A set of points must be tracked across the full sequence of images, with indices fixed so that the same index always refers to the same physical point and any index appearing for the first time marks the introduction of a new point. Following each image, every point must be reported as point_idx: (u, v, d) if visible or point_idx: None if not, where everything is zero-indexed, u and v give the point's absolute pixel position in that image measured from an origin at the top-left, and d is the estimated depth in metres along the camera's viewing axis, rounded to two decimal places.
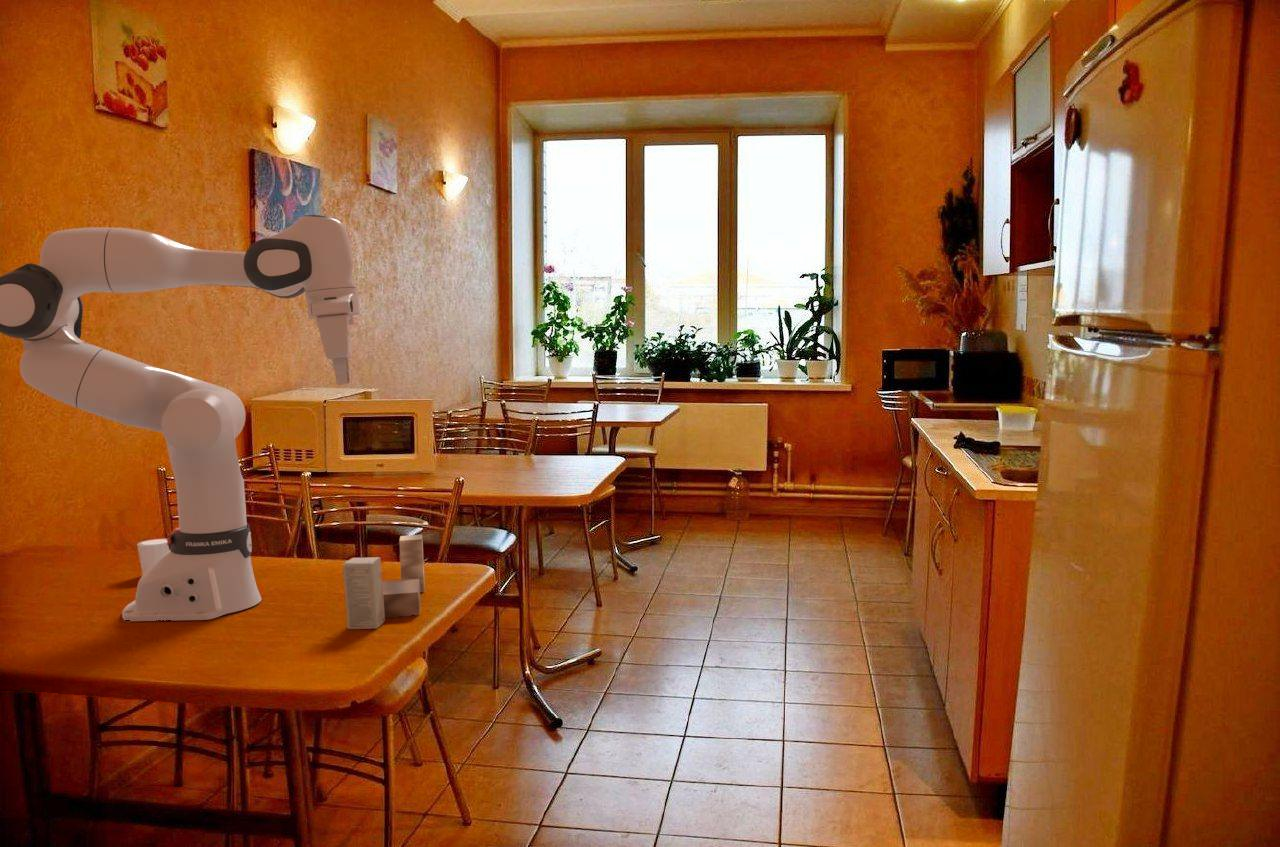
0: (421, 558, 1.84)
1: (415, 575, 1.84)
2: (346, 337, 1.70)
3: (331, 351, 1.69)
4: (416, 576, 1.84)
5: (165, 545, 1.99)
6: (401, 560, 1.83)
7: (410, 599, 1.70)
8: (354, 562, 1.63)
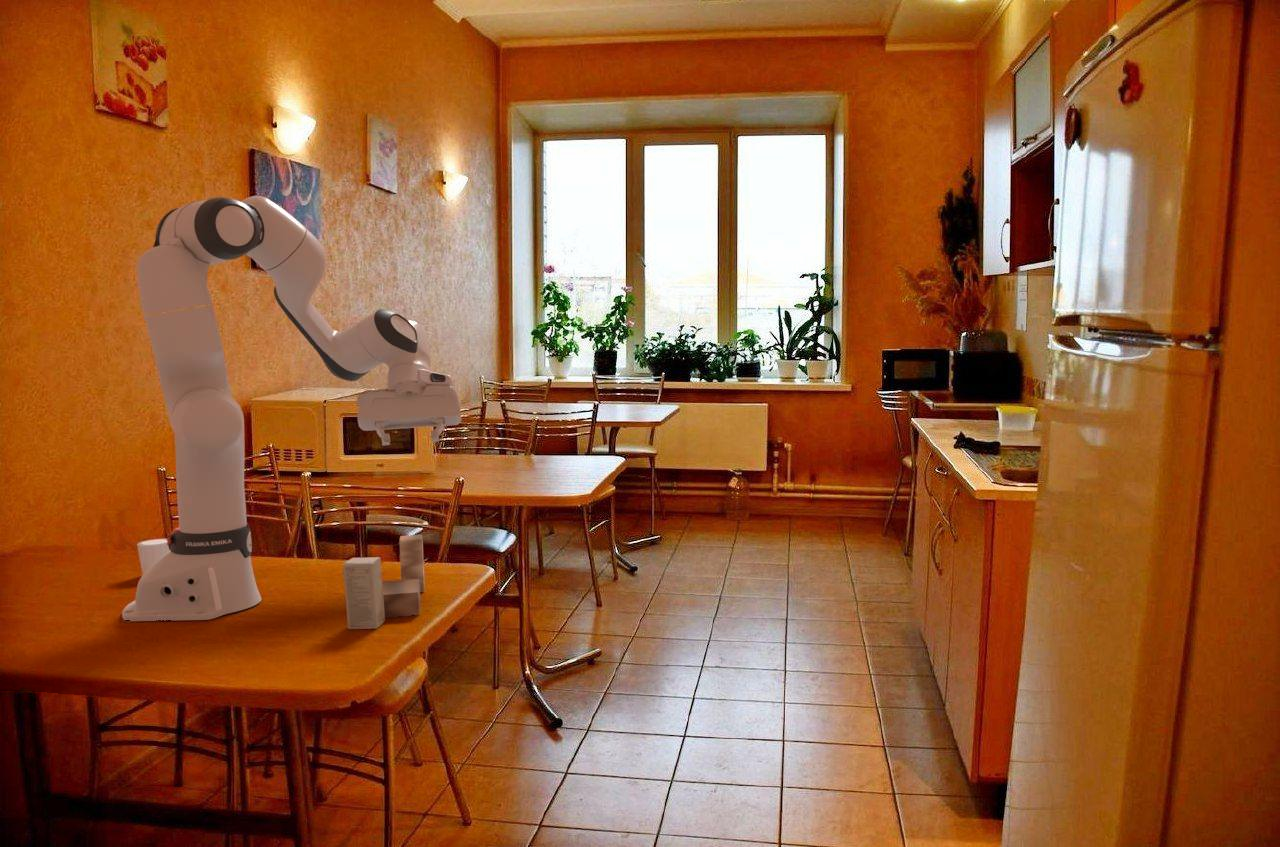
0: (421, 558, 1.84)
1: (415, 575, 1.84)
2: None
3: (460, 413, 2.01)
4: (417, 577, 1.84)
5: (165, 545, 1.99)
6: (401, 560, 1.83)
7: (410, 599, 1.70)
8: (354, 562, 1.63)
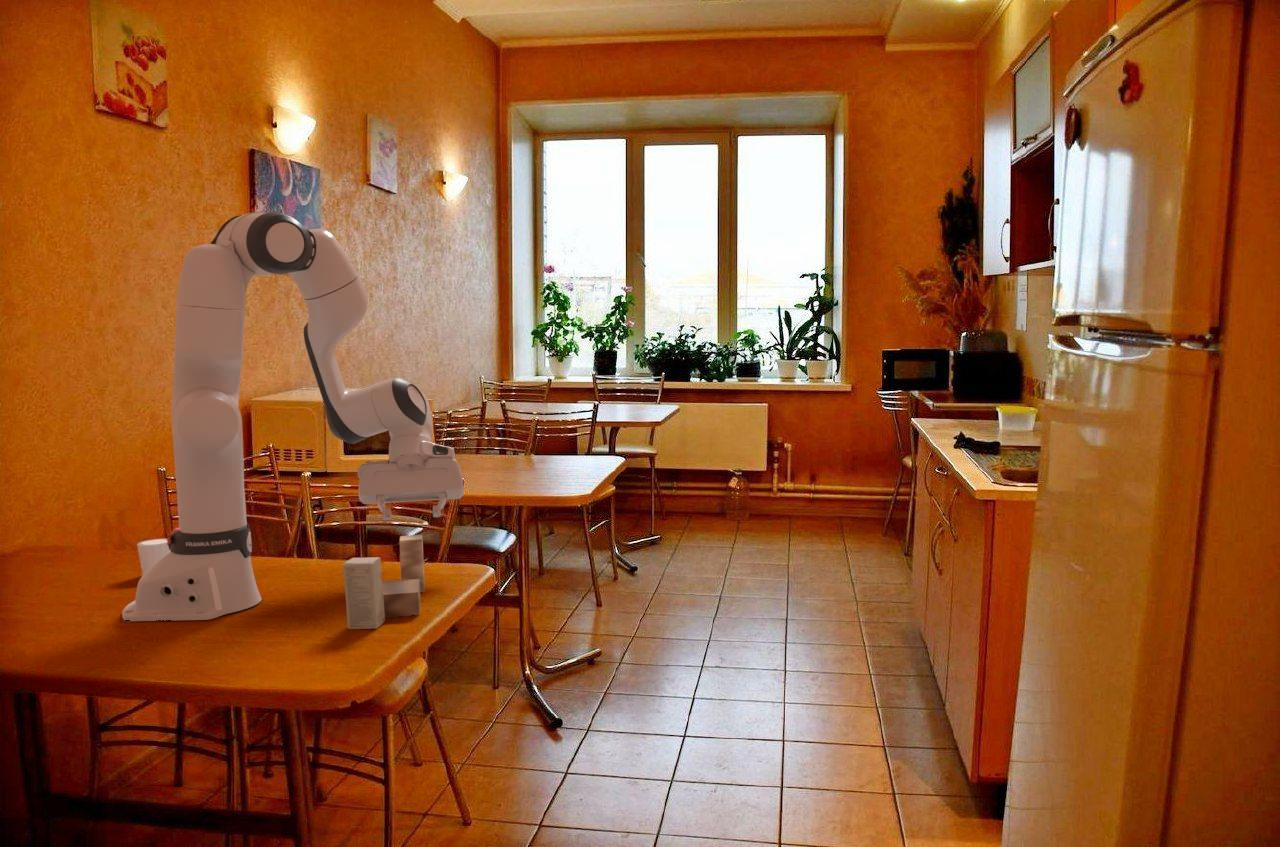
0: (421, 558, 1.84)
1: (415, 575, 1.84)
2: None
3: None
4: (417, 576, 1.84)
5: (165, 545, 1.99)
6: (401, 560, 1.83)
7: (410, 599, 1.70)
8: (354, 562, 1.63)
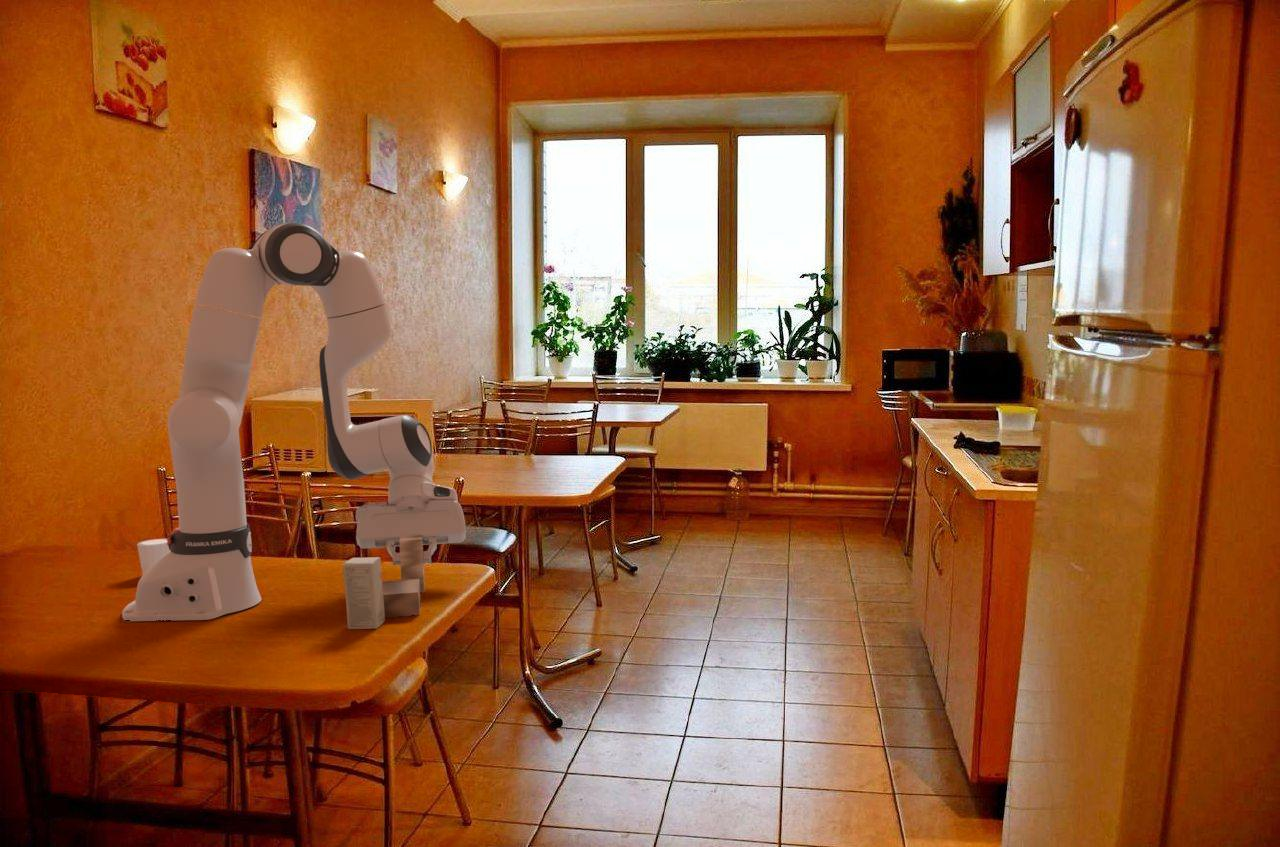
0: (421, 558, 1.84)
1: (415, 575, 1.84)
2: None
3: (465, 530, 1.90)
4: (416, 576, 1.84)
5: (165, 545, 1.99)
6: (401, 560, 1.83)
7: (410, 599, 1.70)
8: (354, 562, 1.63)
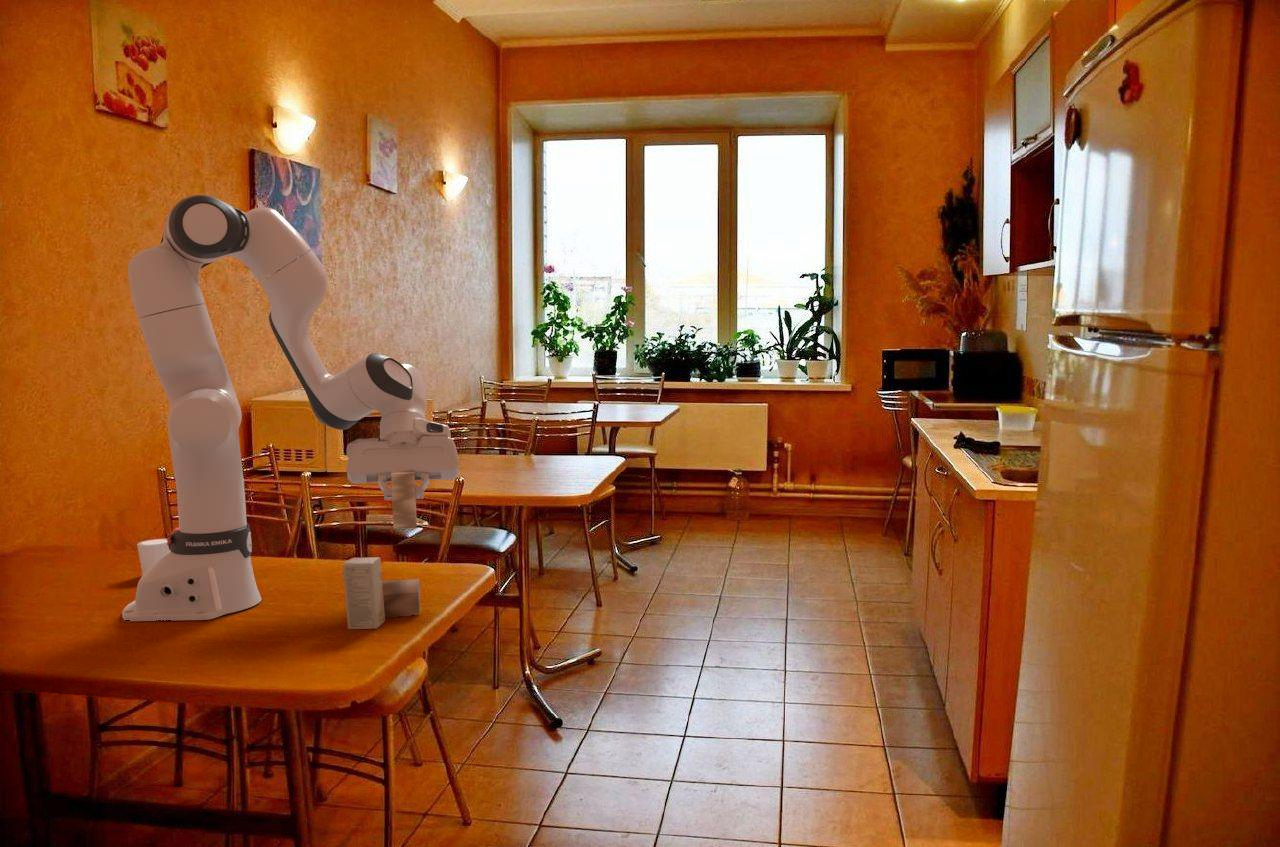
0: (413, 492, 1.80)
1: (407, 510, 1.80)
2: None
3: (458, 466, 1.86)
4: (408, 511, 1.81)
5: (165, 545, 1.99)
6: (392, 494, 1.80)
7: (410, 599, 1.70)
8: (354, 562, 1.63)
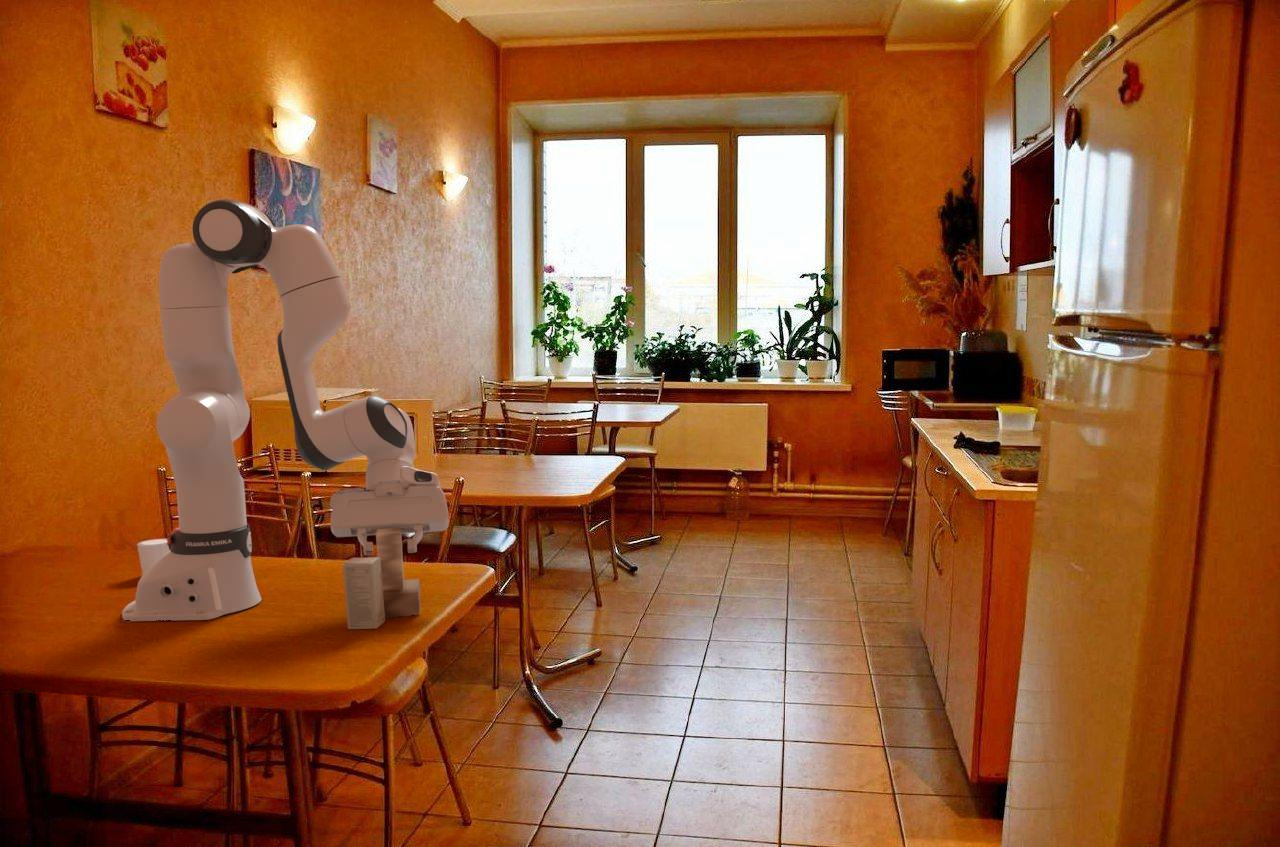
0: (399, 553, 1.71)
1: (393, 571, 1.71)
2: None
3: None
4: (395, 572, 1.72)
5: (165, 545, 1.99)
6: (378, 555, 1.71)
7: (410, 599, 1.70)
8: (354, 562, 1.63)
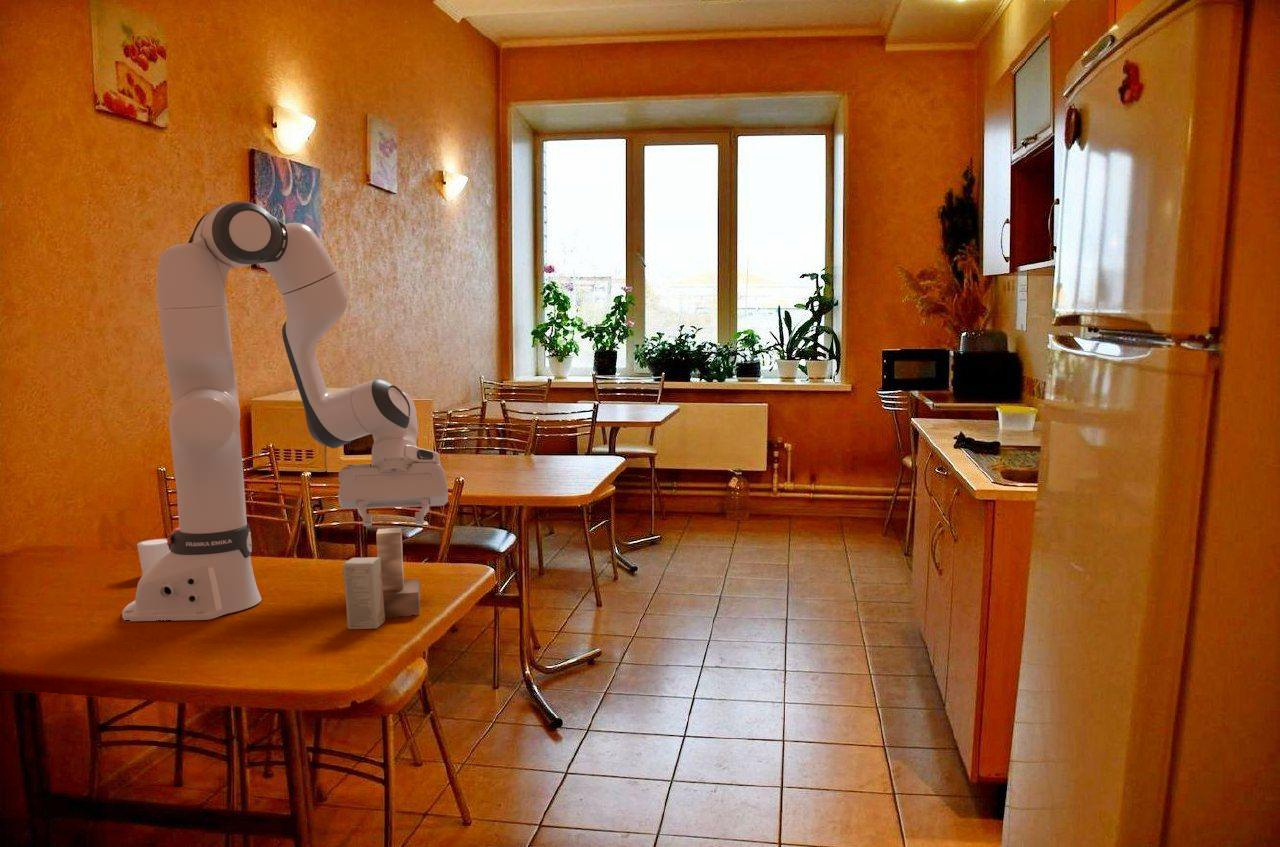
0: (400, 553, 1.71)
1: (393, 571, 1.71)
2: None
3: (447, 493, 1.91)
4: (395, 572, 1.72)
5: (165, 545, 1.99)
6: (378, 555, 1.71)
7: (410, 599, 1.70)
8: (354, 562, 1.63)
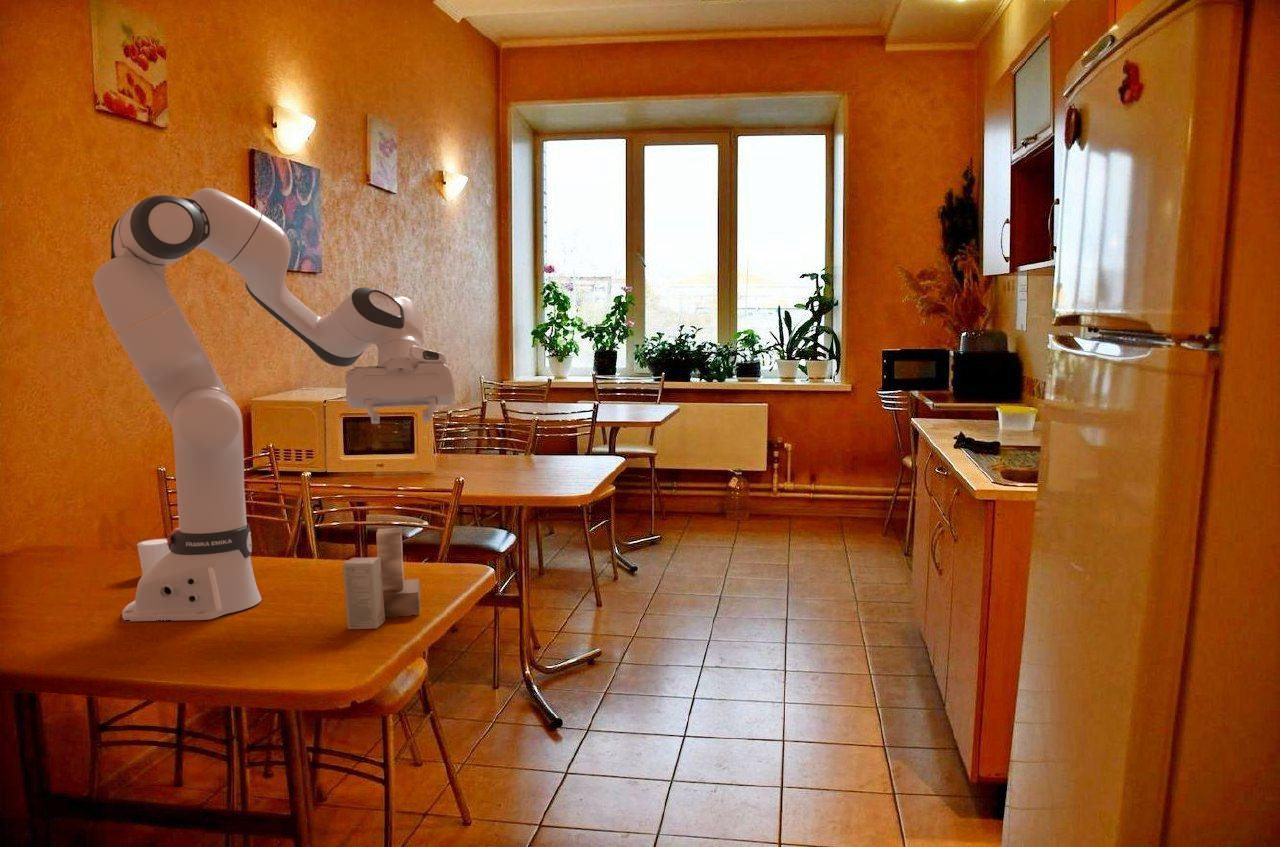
0: (400, 553, 1.71)
1: (393, 571, 1.71)
2: None
3: (454, 392, 1.92)
4: (395, 572, 1.72)
5: (165, 545, 1.99)
6: (378, 555, 1.71)
7: (410, 599, 1.70)
8: (354, 562, 1.63)
